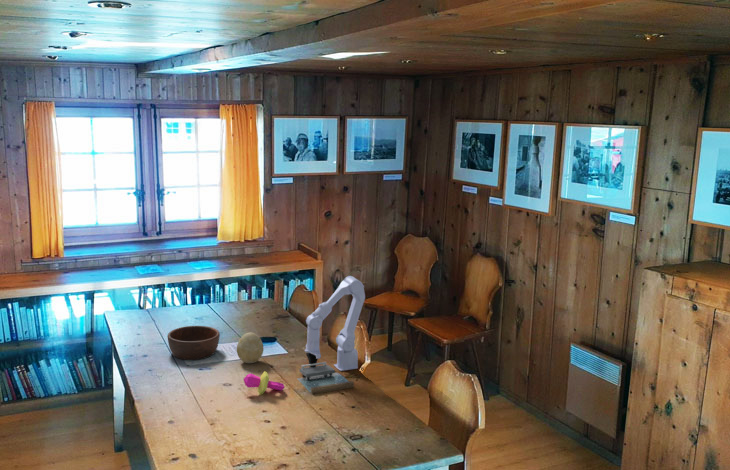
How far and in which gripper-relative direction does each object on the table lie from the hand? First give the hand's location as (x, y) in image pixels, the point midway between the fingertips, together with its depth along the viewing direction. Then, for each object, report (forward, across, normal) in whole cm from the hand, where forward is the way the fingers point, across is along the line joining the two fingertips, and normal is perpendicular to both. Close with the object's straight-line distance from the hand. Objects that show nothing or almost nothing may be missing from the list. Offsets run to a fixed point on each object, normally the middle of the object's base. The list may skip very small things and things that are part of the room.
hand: (312, 367), depth 319 cm
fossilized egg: (+2, -21, -24) cm, 32 cm away
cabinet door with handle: (+1, +6, 0) cm, 6 cm away
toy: (+2, +15, -28) cm, 32 cm away
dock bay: (+2, +15, 0) cm, 15 cm away
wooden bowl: (+2, -43, -46) cm, 63 cm away
